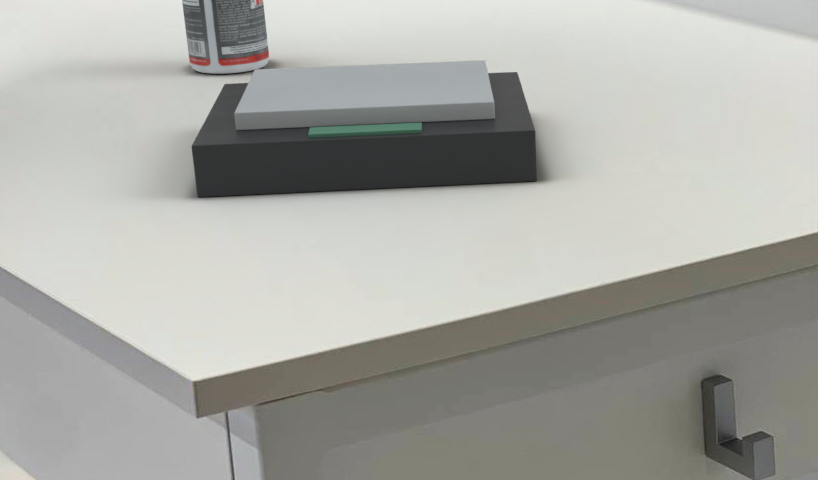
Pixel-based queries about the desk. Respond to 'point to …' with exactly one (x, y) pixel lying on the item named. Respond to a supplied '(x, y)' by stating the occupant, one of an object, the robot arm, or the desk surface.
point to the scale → (365, 130)
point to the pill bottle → (226, 35)
